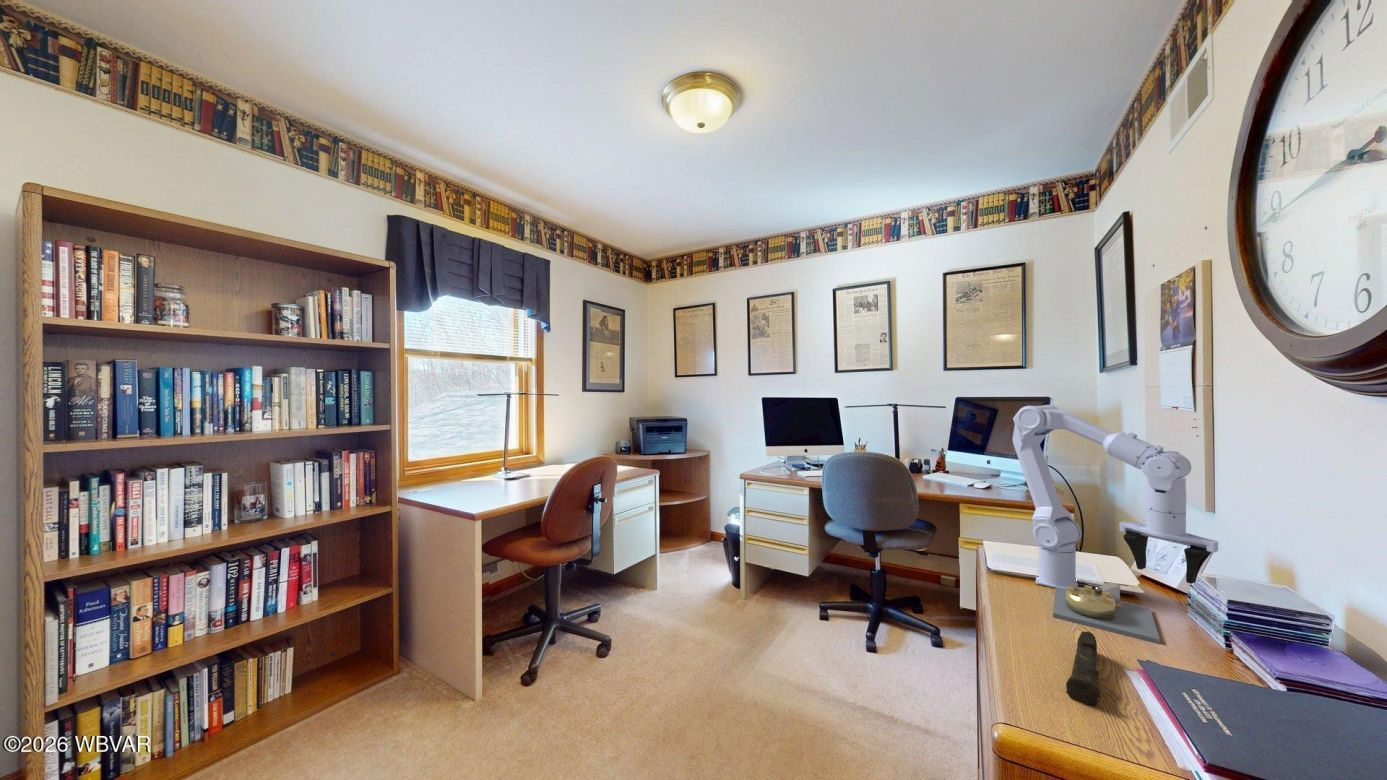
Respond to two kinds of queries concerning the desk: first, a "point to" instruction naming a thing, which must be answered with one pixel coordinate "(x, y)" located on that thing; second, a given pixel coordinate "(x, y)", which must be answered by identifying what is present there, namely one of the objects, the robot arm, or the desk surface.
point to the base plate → (1125, 622)
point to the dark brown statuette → (1085, 672)
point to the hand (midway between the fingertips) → (1165, 575)
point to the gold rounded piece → (1094, 600)
